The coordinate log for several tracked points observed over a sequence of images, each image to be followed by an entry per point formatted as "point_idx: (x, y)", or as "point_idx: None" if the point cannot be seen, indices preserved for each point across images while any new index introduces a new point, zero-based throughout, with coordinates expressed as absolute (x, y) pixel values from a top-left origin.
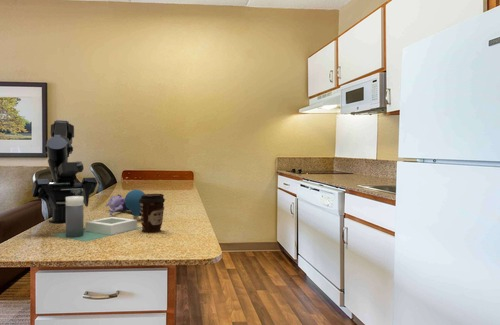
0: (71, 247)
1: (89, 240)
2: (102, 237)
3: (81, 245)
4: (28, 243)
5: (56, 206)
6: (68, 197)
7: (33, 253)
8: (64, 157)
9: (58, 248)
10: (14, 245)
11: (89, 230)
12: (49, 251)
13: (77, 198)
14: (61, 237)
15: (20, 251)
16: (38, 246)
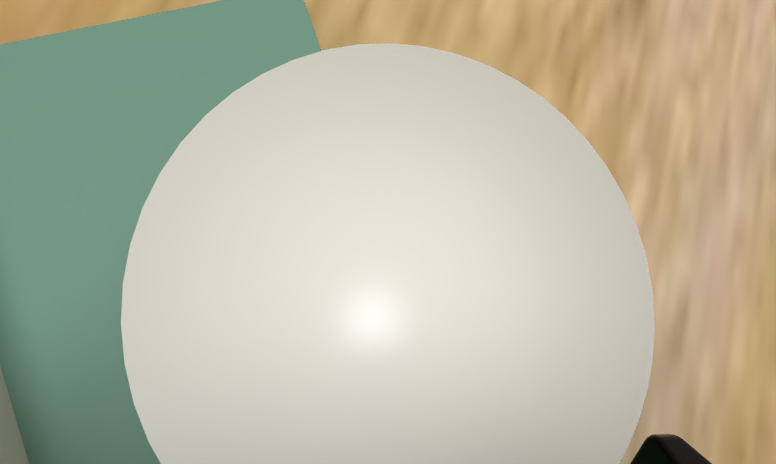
0: (427, 16)
1: (252, 1)
2: (71, 31)
3: (332, 21)
4: (670, 428)
5: (678, 443)
6: (601, 271)
7: (698, 46)
8: None
9: (520, 61)
10: (769, 422)
11: (23, 459)
12: (599, 19)
13: (412, 52)
14: None
15: (758, 173)
16: None
